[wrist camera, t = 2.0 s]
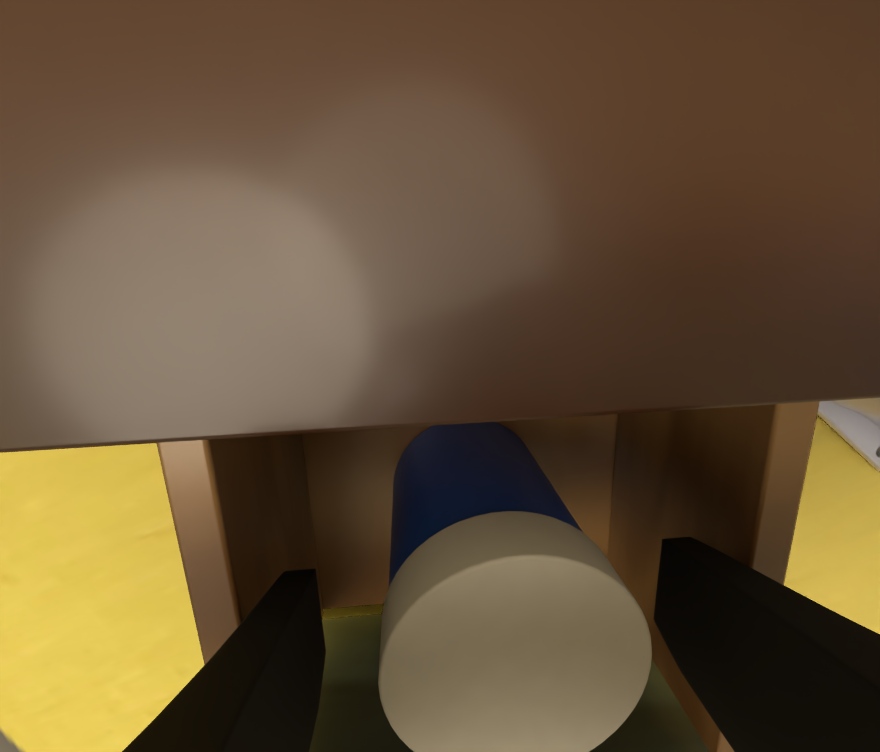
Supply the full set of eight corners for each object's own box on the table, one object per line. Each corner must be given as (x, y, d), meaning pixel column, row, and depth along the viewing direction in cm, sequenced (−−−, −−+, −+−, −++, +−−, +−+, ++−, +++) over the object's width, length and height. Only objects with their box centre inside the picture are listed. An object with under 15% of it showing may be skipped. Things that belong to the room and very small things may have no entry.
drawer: (617, 707, 18) (742, 967, 11) (308, 741, 17) (248, 1043, 10) (659, 247, 13) (910, 234, 7) (237, 262, 12) (49, 264, 6)
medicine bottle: (568, 467, 14) (708, 644, 7) (475, 572, 14) (532, 814, 8) (453, 382, 13) (501, 502, 6) (359, 499, 13) (320, 711, 7)
